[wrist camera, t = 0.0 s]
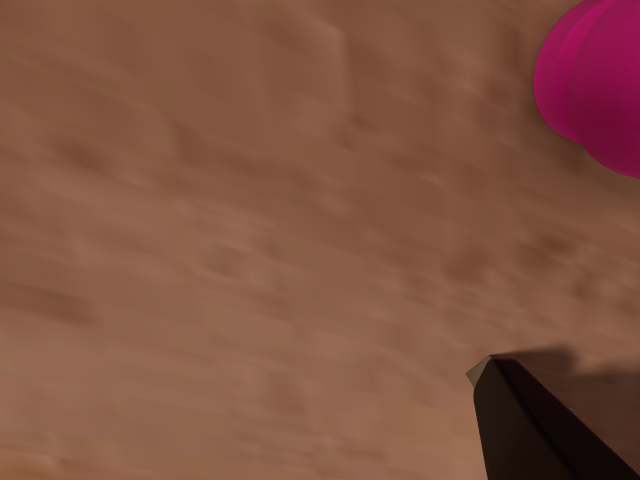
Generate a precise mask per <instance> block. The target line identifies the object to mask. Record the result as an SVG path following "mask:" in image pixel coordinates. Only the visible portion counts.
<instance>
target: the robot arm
mask: <svg viewBox="0 0 640 480" xmlns="http://www.w3.org/2000/svg"><path fill="white" fill-rule="evenodd" d="M473 398H474V405H475V411H476V417H477V422H478V428H479V433H480V439H481V445H482V450H483V456H484V462H485V467H486V473H487V478H488V480H640V476H639V475H638V474H637V473H636V472H635V471H634V470H633V469H632V468H631V467H630V466H629V465H628V464H627V463H626V462H624V461H623V460H622V459H621V458H620V457H619V456H618V455H617V454H616V453H615V452H614V451H613V450H612V449H611V448H610V447H608V446H607V445H606V444H605V443H604V442H603V441H602V440H601V439H600V438H599V437H598V436H597V435H596V434H595V433H594V432H592V431H591V430H590V429H589V428H588V427H587V426H586V425H585V424H584V423H583V422H582V421H581V420H580V419H579V418H578V417H576V416H575V415H574V414H573V413H572V412H571V411H570V410H569V409H568V408H567V407H566V406H565V405H564V404H563V403H561V402H560V401H559V400H558V399H557V398H556V397H555V396H554V395H553V394H552V393H551V392H550V391H549V390H548V389H547V388H545V387H544V386H543V385H542V384H541V383H540V382H539V381H538V380H537V379H536V378H535V377H534V376H533V375H532V374H531V373H529V372H528V371H527V370H526V369H525V368H524V367H523V366H522V365H521V364H520V363H519V362H517V361H516V360H514V359H512V358H497V357H494V358H491V359H489V360H488V362H487V363H486V365H485V367H484V369H483V371H482V373H481V375H480V377H479V379H478V381H477V383H476V385H475V388H474V394H473Z"/></svg>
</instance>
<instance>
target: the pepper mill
mask: <svg viewBox="0 0 640 480" xmlns="http://www.w3.org/2000/svg"><path fill="white" fill-rule="evenodd" d="M534 94H535V99H536V103H537V107H538V109H539V111H540V113H541V115H542V117H543V119H544V120H545V122H546V123H547V124H548V125H549V127H550V128H551V129H552V130H554V131H555V132H556V133H558V134H559V135H561V136H563V137H565V138H567V139H569V140H572V141H574V142H577V143H580V144H582V145H583V147H584V148H585V149H586V151H587V152H588V153H589V154H590V155H591V156H592V157H593V158H594V159H596V160H597V161H598V162H599V163H601V164H602V165H603V166H605V167H607V168H609V169H611V170H613V171H615V172H617V173H621V174H624V175H628V176H631V177H635V178H638V179H640V0H585V1H583V2H581V3H580V4H578V5H577V6H576V7H574V8H573V9H571V10H570V11H568V12H567V13H566V14H565V15H564V16H563V17H562V18H561V19H560V20H559V21H558V23H557V24H556V25H555V27H554V28H553V29H552V31H551V32H550V33H549V35H548V36H547V38H546V40H545V42H544V44H543V46H542V48H541V50H540V53H539V55H538V58H537V62H536V67H535V73H534Z"/></svg>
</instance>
